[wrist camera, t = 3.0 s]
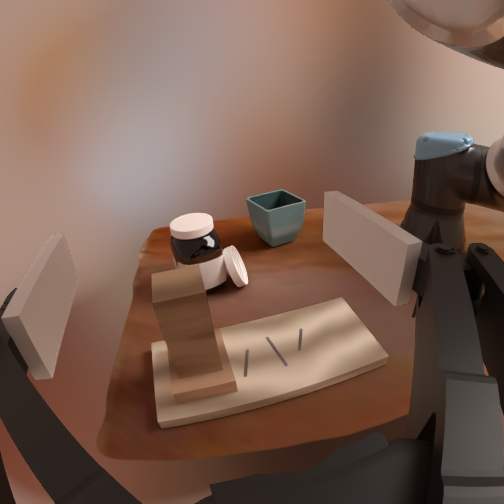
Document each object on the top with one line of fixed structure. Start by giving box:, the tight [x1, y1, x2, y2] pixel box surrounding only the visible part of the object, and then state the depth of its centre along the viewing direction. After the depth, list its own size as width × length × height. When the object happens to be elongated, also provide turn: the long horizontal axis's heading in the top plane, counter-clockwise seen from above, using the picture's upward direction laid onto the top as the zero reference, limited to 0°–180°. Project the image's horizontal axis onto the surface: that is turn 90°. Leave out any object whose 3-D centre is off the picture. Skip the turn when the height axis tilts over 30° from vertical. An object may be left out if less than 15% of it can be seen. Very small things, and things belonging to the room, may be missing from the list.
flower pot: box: [246, 190, 306, 247], centre depth 65 cm, size 9×9×9 cm
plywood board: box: [151, 297, 389, 429], centre depth 39 cm, size 13×28×2 cm, turn 106°
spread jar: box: [170, 213, 248, 294], centre depth 53 cm, size 12×11×12 cm
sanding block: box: [152, 264, 238, 404], centre depth 34 cm, size 9×7×13 cm
